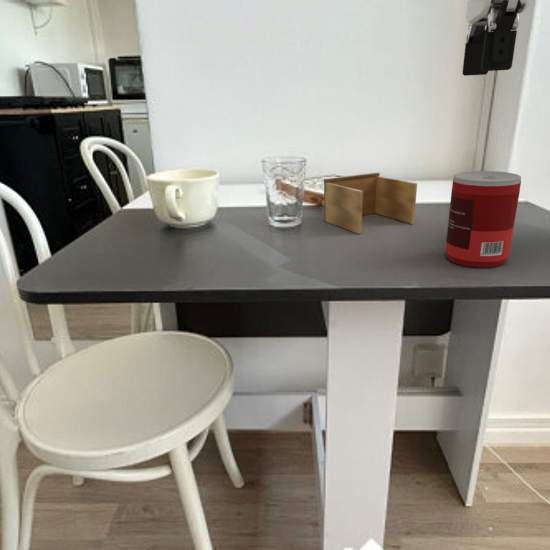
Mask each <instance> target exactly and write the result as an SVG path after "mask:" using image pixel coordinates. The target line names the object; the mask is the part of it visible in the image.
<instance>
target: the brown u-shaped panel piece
mask: <svg viewBox="0 0 550 550" xmlns="http://www.w3.org/2000/svg"><path fill="white" fill-rule="evenodd" d="M380 174H381V173H380V172H370V173H363V174H353V175H346V176H338V177H330V178H323V222H327V223H328V224H332V225H334V226H336V227H339V228H342V229H344V230H346V231H349V232H352V233H355V234H358V235H362V227H363V225H362V224H363V223H362V222H363V216H367V215H372V214H377V215H379V216H383V217H387V218H390V219H393V220H396V221H399V222H403V223H406V224H408V225H409V224H410V225H414V224H415V217H416V216H415V215H416V204H417V191H418V182H412V181H407V180H401V179H397V178H391V177H384V176H381V175H380Z"/></svg>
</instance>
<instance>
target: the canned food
mask: <svg viewBox="0 0 550 550" xmlns="http://www.w3.org/2000/svg"><path fill="white" fill-rule="evenodd" d="M521 185H522V176H521V175H519V174H518V173H513V172H508V171H507V172H506V171H495V170H472V171H471V170H470V171H462V172H457V173H455V174H453V179H452V185H451V192H450V193H451V194H450V203H449V210H448V211H449V212H448V223H447V231H446V241H445V250H444V251H445V256H446V258H447V259H448V260H449V261H450V262H451V263H454V264H457V265H459V266H463V267H467V268H469V267H470V268H476V269H477V268H478V269H486V268H487V269H488V268H496V267H499V266H502V265H504V264H505V263H506V262H507V260H508V258H509V255H510V251H511V244H512V238H513V233H514V227H515V221H516V216H517V209H518V203H519V198H520V191H521Z"/></svg>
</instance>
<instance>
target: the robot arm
mask: <svg viewBox="0 0 550 550" xmlns="http://www.w3.org/2000/svg"><path fill="white" fill-rule="evenodd" d="M466 1H467V2H466V13H465V14H466V17H465V18H466V22H467V23H468V28H467V34H466V38H465V45H464V53H463V62H462V63H463V64H462V76H463V77H464V76H466V77H467V76H483V75H484V76H485V75H487V74H488V73H489V72H497V71H498V72H499V71H509V70H511V69H512V67H513V60H514V54H515V47H516V42H517V41H516V40H517V34H518V30H517V29H518V26H519V22H520V17H519V16H520V15H521V14H522V13H524V12H525V11H526V10H527V9H528V8H529V6H530V2H531V0H466Z"/></svg>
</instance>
